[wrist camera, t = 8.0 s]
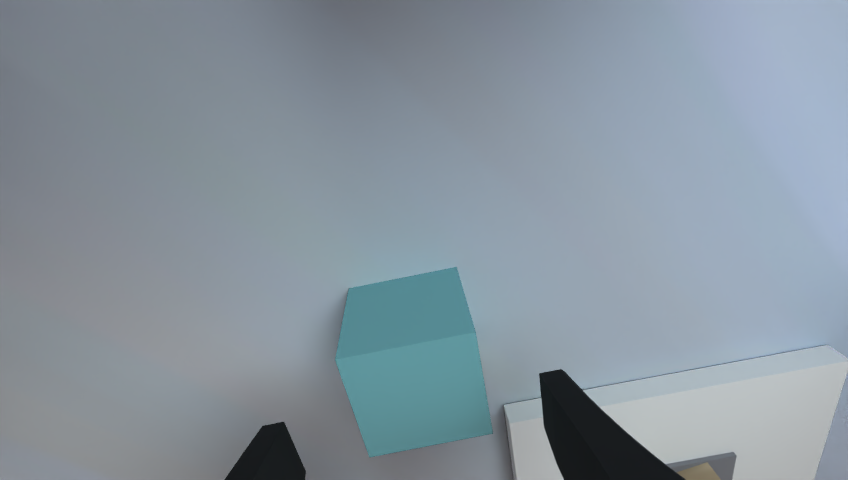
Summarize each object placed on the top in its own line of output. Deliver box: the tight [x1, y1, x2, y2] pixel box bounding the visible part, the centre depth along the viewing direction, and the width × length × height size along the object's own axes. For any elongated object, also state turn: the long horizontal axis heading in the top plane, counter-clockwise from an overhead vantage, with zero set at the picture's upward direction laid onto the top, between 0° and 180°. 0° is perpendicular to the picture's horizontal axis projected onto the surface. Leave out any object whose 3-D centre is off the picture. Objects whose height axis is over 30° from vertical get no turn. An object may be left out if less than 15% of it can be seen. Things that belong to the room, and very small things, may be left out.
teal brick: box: [335, 267, 493, 457], centre depth 14 cm, size 4×4×4 cm
